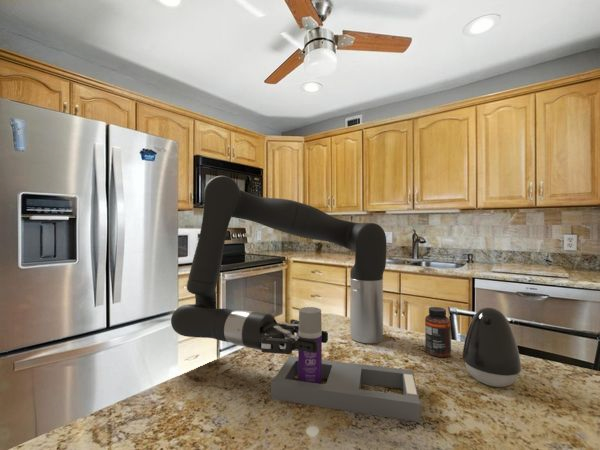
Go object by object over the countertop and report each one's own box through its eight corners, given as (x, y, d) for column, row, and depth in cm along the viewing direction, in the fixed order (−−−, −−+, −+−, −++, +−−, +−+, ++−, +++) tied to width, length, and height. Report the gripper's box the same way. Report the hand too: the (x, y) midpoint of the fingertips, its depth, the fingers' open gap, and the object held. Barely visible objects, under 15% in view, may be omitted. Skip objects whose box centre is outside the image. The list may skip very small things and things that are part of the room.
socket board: (289, 369, 67) (289, 355, 67) (412, 384, 61) (412, 369, 61) (270, 398, 56) (270, 381, 56) (420, 422, 49) (420, 402, 49)
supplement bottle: (445, 348, 79) (445, 305, 79) (455, 358, 73) (454, 312, 73) (422, 348, 79) (422, 305, 79) (429, 357, 73) (429, 311, 73)
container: (305, 393, 57) (305, 314, 57) (294, 381, 61) (294, 308, 61) (325, 387, 59) (326, 311, 59) (314, 376, 63) (314, 305, 63)
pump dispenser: (456, 381, 62) (456, 308, 62) (469, 364, 70) (469, 299, 70) (516, 401, 55) (516, 318, 55) (524, 379, 63) (523, 307, 63)
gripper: (230, 321, 59) (308, 335, 52) (267, 304, 72) (334, 313, 65) (229, 359, 59) (308, 377, 52) (267, 335, 72) (334, 347, 65)
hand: (322, 341), depth 59 cm, fingers closed on container, 4 cm apart
